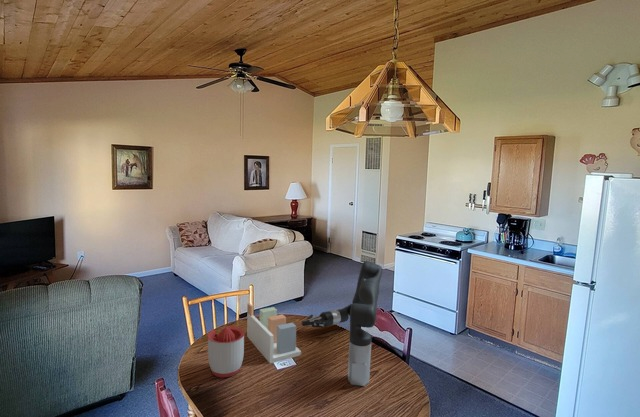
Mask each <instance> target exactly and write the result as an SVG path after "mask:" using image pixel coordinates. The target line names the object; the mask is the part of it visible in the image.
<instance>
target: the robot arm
mask: <svg viewBox="0 0 640 417" xmlns="http://www.w3.org/2000/svg"><path fill="white" fill-rule="evenodd" d="M382 275H383V267H382V266H381V265H380V264H377V263H374V262H372V261H367V260H365V261H364V262H362V265H361V267H360V271H359V274H358V277H357V278H358V279H357V283H356V290H355V292H354V297H353V298H352V303H350V304H349V305H348V304H347V306H344V307H343V308H340V309H334V310H327V311H323V312H321V313H320V314H319V315H314V314H310V315H309V316H307V319H306V320H303V321H301V326H302V327H307V326H311V327H313V328H324V327H330V326H334V325H337V324H341V323H345V322H347V321H348V320H349V345H348V360H347V362H348V364H347V365H348V366H347V367H348V368H347V381H348V382H349V383H350V385H351V386H358V387H359V386H361V387H366V386H367V384H369V382H370V376H371V375H370V374H371V373H370V372H371V371H370V370H371V358H372V356H371V355H372V340H373V339H372V335H371V333H370V332H368V331H366V330H365V329H363V328H367V329H370V328H374V327H375V325H376V322H377V314H378V313H377V309H378V308H377V306H378V301H379V300H378V298H379V292H380V284H381V279H382Z"/></svg>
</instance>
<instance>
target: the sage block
mask: <svg viewBox="0 0 640 417" xmlns="http://www.w3.org/2000/svg"><path fill="white" fill-rule="evenodd" d="M277 315H278V309H277V308H276V307H274V306H272V307H265V308H260V309H259V319H258V320H259V321H260V322H261V323H262V324H263V325H264V326H265V327H266V328H267V329H268V317H271V316H277Z"/></svg>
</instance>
